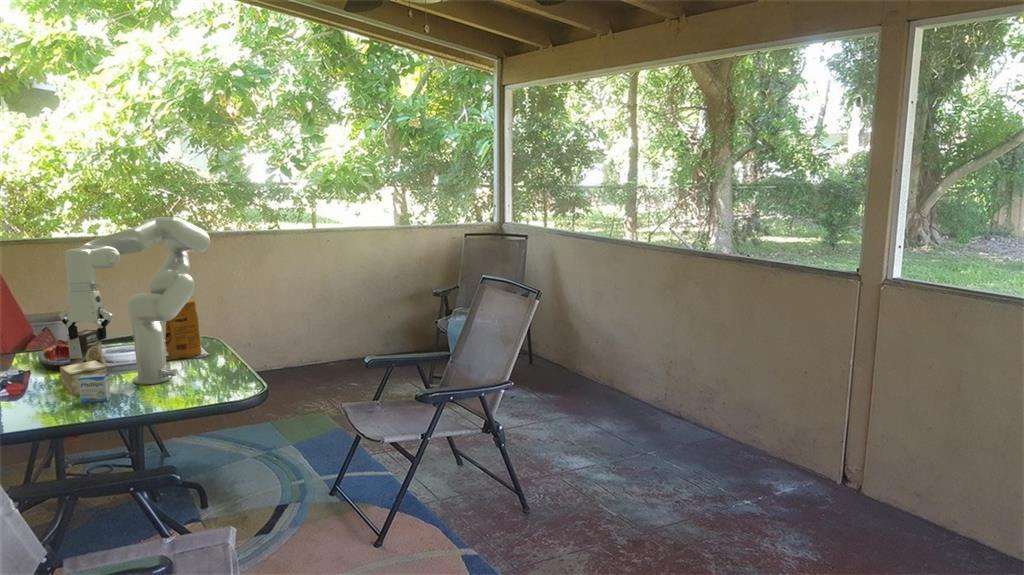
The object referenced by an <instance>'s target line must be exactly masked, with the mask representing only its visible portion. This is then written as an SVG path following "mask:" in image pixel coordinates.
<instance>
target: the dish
mask: <svg viewBox="0 0 1024 575" xmlns="http://www.w3.org/2000/svg"><path fill="white" fill-rule="evenodd" d="M37 358H38V361H39V362H40V364H41V365H42V366H43V367H44V368H46V369H47V370H48V369H49V370H52V371H53V370H54V371H60V367H63V366H68V365H70V356H69V347H68V344H54V345H52V346H49V347H47V348H45V349H43V350H41V351H40V352H39V354H38V355H37Z"/></svg>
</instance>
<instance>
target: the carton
mask: <svg viewBox="0 0 1024 575" xmlns="http://www.w3.org/2000/svg"><path fill="white" fill-rule="evenodd" d="M59 371H60V377H61V385H62V386H61V387H62V389H63V390H64V391H65V392H67V393H68V394H69V395H71V396H73V397H75V396H80V390H79V381H78V378H79V377H80V376H82V375H90V374H104V373H108V369H107V368H103V369H98V370H93V371H88V372H83V373H78V374H73V375H70V374H68V373H66V372H65V371H63V370H61V369H60V370H59Z"/></svg>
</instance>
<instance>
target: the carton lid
mask: <svg viewBox="0 0 1024 575" xmlns="http://www.w3.org/2000/svg"><path fill="white" fill-rule="evenodd" d="M103 364H104V363H103ZM103 364H101V363H99V362H97V361H89V362H84V363H79V364H74V365H68V366H63V367H60V369H61V370H63V371H65V372H66V373H68V374H70V375H73V374H78V373H83V372H88V371H93V370H98V369H103V368H106V369H107V365H106V364H104V365H103Z"/></svg>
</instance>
